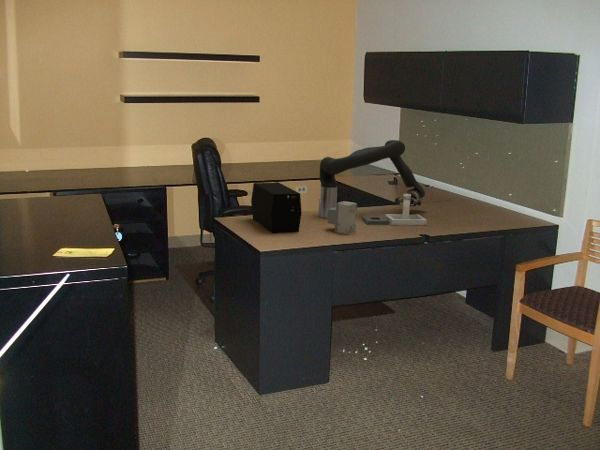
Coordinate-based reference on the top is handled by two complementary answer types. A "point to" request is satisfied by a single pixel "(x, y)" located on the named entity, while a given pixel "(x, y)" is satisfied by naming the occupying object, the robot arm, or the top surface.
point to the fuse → (406, 206)
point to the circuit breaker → (343, 217)
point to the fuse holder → (375, 220)
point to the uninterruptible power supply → (276, 207)
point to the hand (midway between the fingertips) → (406, 203)
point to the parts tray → (397, 219)
